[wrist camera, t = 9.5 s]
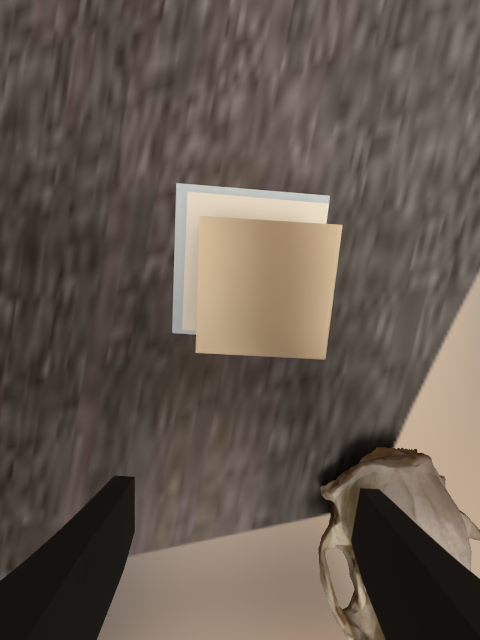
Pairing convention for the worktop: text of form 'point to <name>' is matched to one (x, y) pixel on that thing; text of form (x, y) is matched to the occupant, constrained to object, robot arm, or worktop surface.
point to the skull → (411, 497)
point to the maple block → (265, 287)
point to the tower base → (181, 232)
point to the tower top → (233, 209)
